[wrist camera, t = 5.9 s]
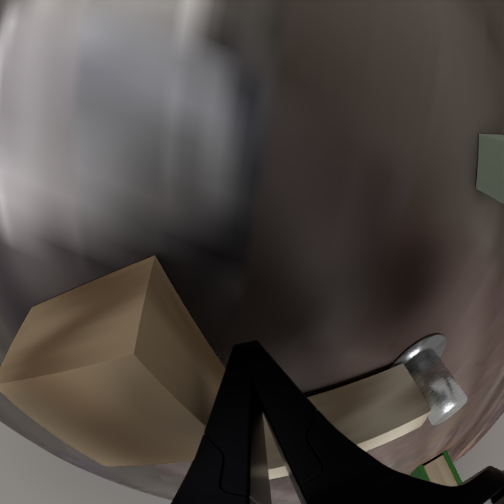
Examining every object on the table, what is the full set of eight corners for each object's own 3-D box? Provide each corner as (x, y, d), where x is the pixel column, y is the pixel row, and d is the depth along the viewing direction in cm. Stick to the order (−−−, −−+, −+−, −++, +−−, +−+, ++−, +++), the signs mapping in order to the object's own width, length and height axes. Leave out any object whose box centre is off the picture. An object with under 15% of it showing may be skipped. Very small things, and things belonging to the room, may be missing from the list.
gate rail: (403, 363, 14) (431, 410, 11) (396, 382, 15) (420, 426, 12) (206, 418, 13) (212, 478, 10) (216, 433, 14) (222, 486, 11)
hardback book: (418, 465, 42) (451, 542, 21) (445, 449, 42) (480, 523, 21) (406, 478, 51) (432, 541, 30) (430, 466, 51) (457, 526, 30)
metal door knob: (453, 323, 14) (492, 372, 10) (434, 367, 16) (463, 412, 12) (394, 350, 13) (431, 411, 10) (381, 392, 16) (407, 444, 12)
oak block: (155, 255, 9) (133, 354, 5) (225, 368, 12) (237, 452, 8) (31, 307, 9) (-8, 384, 5) (113, 395, 12) (104, 465, 8)
